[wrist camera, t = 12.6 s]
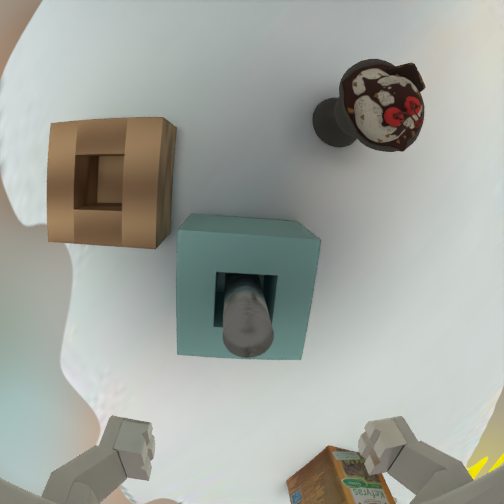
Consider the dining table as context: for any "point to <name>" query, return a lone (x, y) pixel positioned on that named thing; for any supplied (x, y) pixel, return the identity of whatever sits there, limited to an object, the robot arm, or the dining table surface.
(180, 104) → the dining table surface
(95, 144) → the socket
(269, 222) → the teal storage box
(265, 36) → the dining table surface
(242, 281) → the peg
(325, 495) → the milk carton
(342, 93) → the sundae
